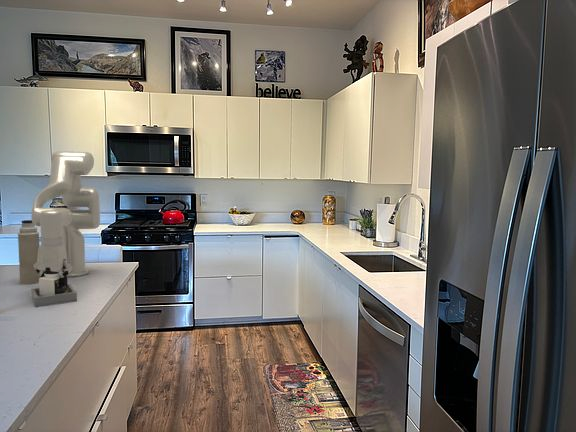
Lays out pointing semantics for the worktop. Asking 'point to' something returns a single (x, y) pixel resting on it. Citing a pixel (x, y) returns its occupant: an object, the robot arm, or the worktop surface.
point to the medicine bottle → (51, 283)
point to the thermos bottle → (28, 252)
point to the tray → (53, 297)
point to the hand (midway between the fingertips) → (53, 285)
